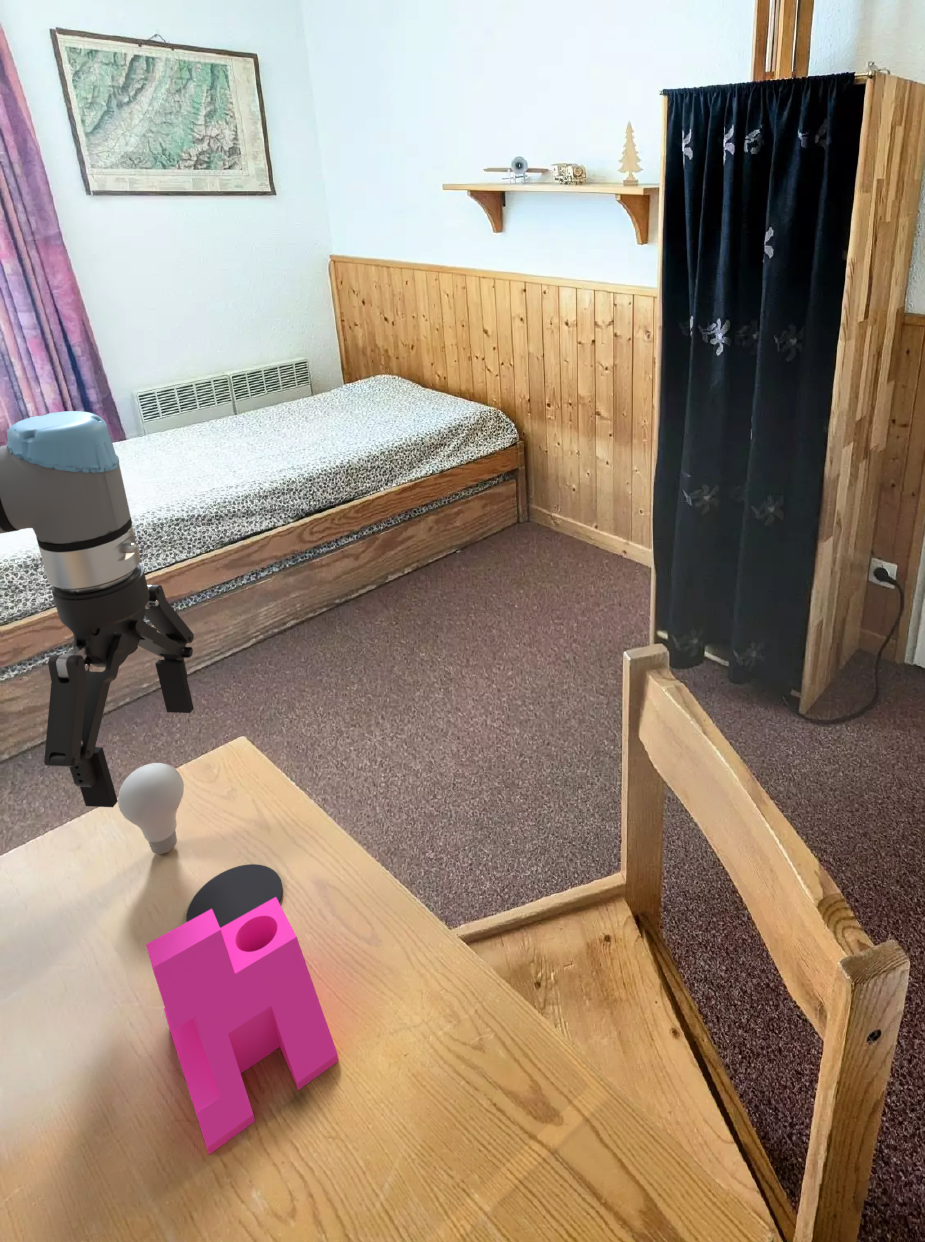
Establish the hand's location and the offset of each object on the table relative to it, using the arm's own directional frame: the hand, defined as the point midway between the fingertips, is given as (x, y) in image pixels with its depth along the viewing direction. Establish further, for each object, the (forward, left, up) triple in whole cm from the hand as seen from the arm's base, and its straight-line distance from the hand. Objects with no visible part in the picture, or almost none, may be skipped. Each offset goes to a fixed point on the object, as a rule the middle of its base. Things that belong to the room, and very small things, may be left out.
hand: (144, 753), depth 80 cm
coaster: (+11, -6, -13) cm, 18 cm away
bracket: (+19, -19, -13) cm, 30 cm away
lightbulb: (0, 0, -13) cm, 13 cm away
